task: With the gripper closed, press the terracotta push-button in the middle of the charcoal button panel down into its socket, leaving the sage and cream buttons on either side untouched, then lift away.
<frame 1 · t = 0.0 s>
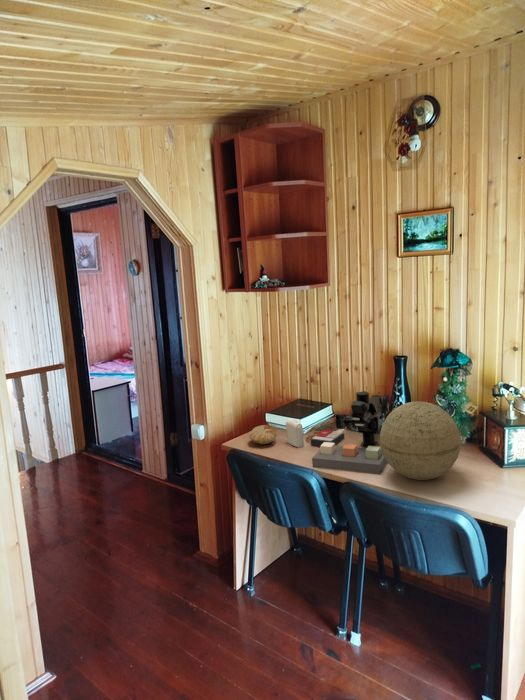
hand: (351, 428, 216), 17 cm above the table, tool horizontal, fingers open, 9 cm apart
terracotta button: (350, 451, 220), point 5 cm above the table, slide at 0.0 cm
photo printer: (295, 444, 249), on the table
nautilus: (267, 441, 257), on the table
celestial globe: (420, 477, 203), on the table
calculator: (328, 443, 249), on the table
button panel: (350, 463, 221), on the table
sage button: (373, 454, 216), point 5 cm above the table, slide at 0.0 cm
cream button: (328, 449, 225), point 5 cm above the table, slide at 0.0 cm
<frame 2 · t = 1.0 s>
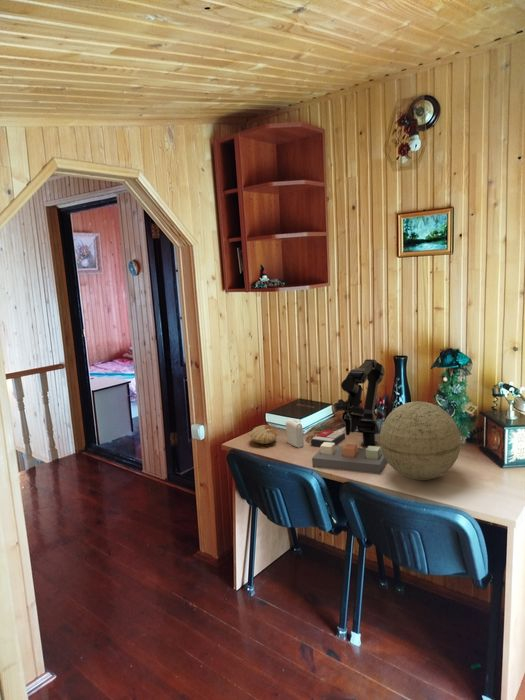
hand: (349, 433, 218), 14 cm above the table, tool tilted 30°, fingers open, 9 cm apart
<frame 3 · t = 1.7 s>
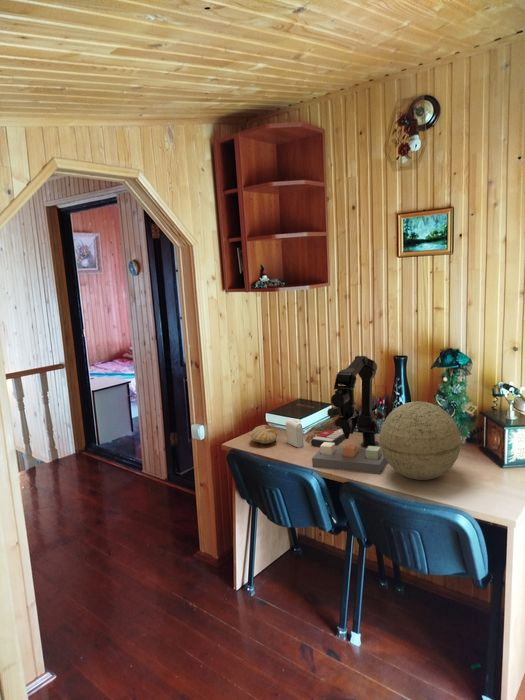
hand: (349, 436, 219), 12 cm above the table, tool pointing down, fingers open, 6 cm apart
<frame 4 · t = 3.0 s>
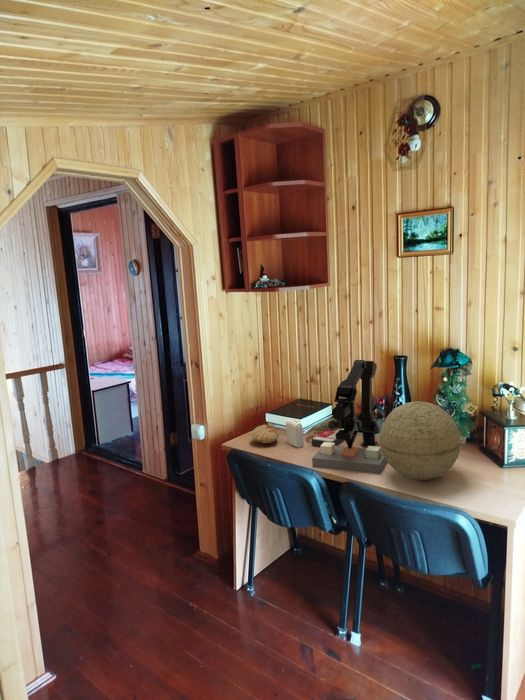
hand: (350, 448, 220), 7 cm above the table, tool pointing down, fingers closed, pressing on terracotta button
terracotta button: (350, 453, 221), point 4 cm above the table, slide at 0.9 cm, touching gripper
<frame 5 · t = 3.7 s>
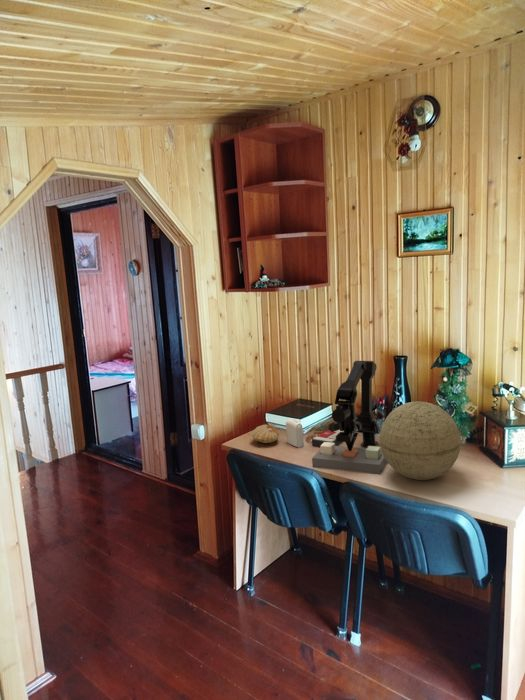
hand: (350, 450, 220), 6 cm above the table, tool pointing down, fingers closed, pressing on terracotta button
terracotta button: (350, 456, 221), point 3 cm above the table, slide at 1.8 cm, touching gripper
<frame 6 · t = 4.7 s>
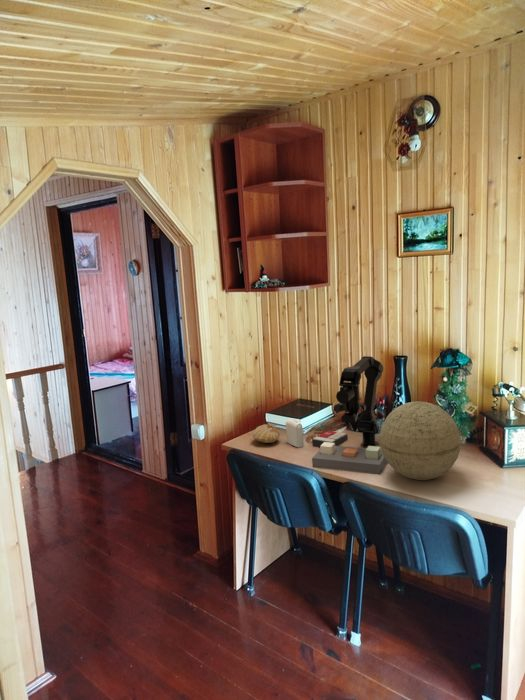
hand: (355, 430, 227), 12 cm above the table, tool pointing down, fingers closed
terracotta button: (350, 456, 221), point 3 cm above the table, slide at 1.8 cm
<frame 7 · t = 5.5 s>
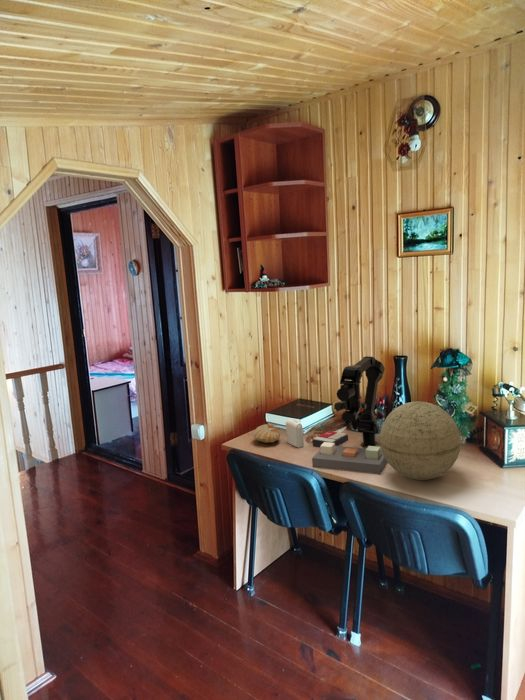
hand: (355, 429, 227), 12 cm above the table, tool pointing down, fingers closed
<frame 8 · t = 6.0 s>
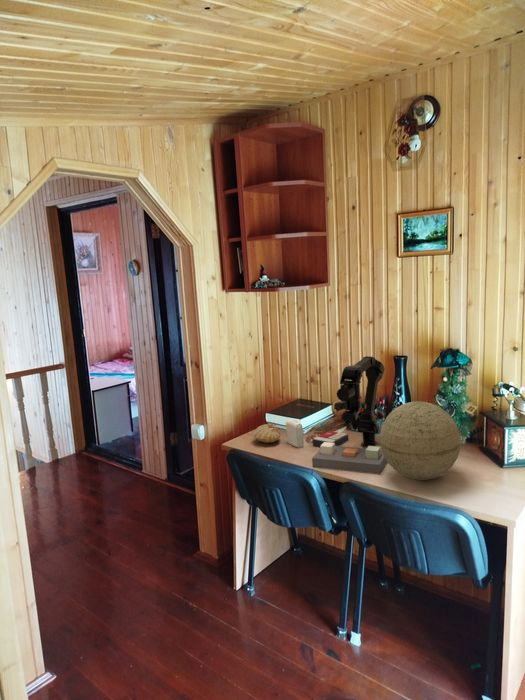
hand: (355, 429, 227), 12 cm above the table, tool pointing down, fingers closed
at the end: terracotta button slide at 1.8 cm; sage button slide at 0.0 cm; cream button slide at 0.0 cm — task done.
